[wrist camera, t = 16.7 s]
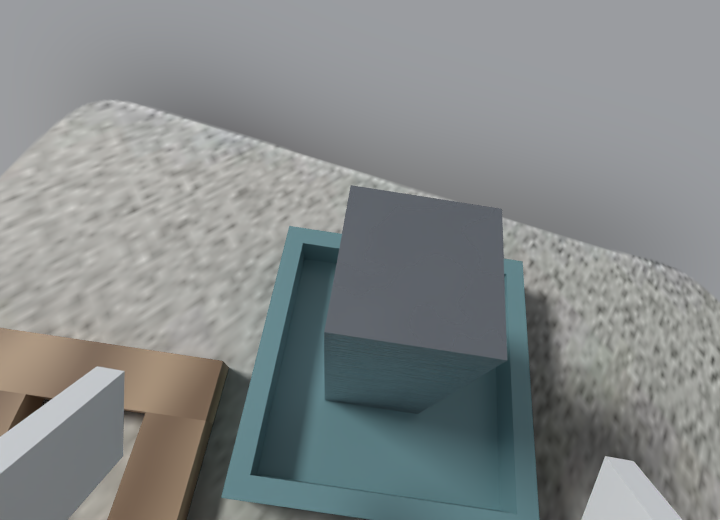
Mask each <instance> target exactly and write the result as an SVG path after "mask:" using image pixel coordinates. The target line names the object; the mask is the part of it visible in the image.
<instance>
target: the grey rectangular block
mask: <svg viewBox="0 0 720 520" xmlns="http://www.w3.org/2000/svg"><path fill="white" fill-rule="evenodd" d="M505 361H507V336H506V309H505V281H504V254H503V227H502V209H499V208H492V207H486V206H479V205H473V204H467V203H460V202H454V201H448V200H441V199H435V198H428V197H422V196H416V195H409V194H403V193H396V192H390V191H384V190H377V189H371V188H364V187H358V186H352V185H351V187H350V193H349V198H348V204H347V209H346V215H345V220H344V226H343V231H342V237H341V242H340V248H339V253H338V259H337V264H336V270H335V275H334V281H333V286H332V292H331V297H330V303H329V308H328V314H327V319H326V325H325V330H324V378H325V400H328V401H335V402H341V403H348V404H354V405H361V406H367V407H374V408H380V409H387V410H393V411H400V412H406V413H413V414H419V413H420V412H422V411H424V410H425V409H427V408H429V407H430V406H432V405H434V404H435V403H437V402H439V401H440V400H442V399H444V398H445V397H447V396H449V395H450V394H452V393H454V392H455V391H457V390H459V389H460V388H462V387H464V386H465V385H467V384H469V383H470V382H472V381H474V380H475V379H477V378H479V377H480V376H482V375H484V374H485V373H487V372H489V371H490V370H492V369H494V368H495V367H497V366H499V365H500V364H502V363H504V362H505Z"/></svg>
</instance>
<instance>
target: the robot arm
mask: <svg viewBox="0 0 720 520" xmlns="http://www.w3.org/2000/svg"><path fill="white" fill-rule="evenodd" d="M124 376H125V371H121V370H115V369H110V368H104V367H98V366H97V367H95V368H94V369H92V370H91V371H90V372H88V373H87V374H86V375H84V376H83V377H81V378H80V379H79V380H77V381H76V382H75V383H73V384H72V385H71V386H69V387H68V388H66V389H65V390H64V391H62V392H61V393H60V394H58V395H57V396H55V397H54V398H53V399H51V400H50V401H49V402H47V403H46V404H44V405H43V406H42V407H40V408H39V409H38V410H36V411H35V412H33V413H32V414H31V415H29V416H28V417H27V418H25V419H24V420H23V421H21V422H20V423H18V424H17V425H16V426H14V427H13V428H12V429H10V430H9V431H7V432H6V433H5V434H3V435H2V436H1V437H0V520H68V519H69V517H70V516H71V515H72V514H73V513H74V512H75V511H76V509H77V508H78V507H79V506H80V505H81V504H82V502H83V501H84V500H85V499H86V498H87V497H88V496H89V494H90V493H91V492H92V491H93V490H94V489H95V488H96V486H97V485H98V484H99V483H100V482H101V481H102V480H103V478H104V477H105V476H106V475H107V474H108V473H109V471H110V470H111V469H112V468H113V467H114V466H115V465H116V463H117V462H118V461H119V460H120V459H121V458H122V457H123V429H124ZM581 520H682V519H681V518H680V516H679V515H678V514H677V513H676V512H675V510H674V509H673V508H672V507H671V506H670V504H669V503H668V502H667V501H666V499H665V498H664V497H663V496H662V495H661V493H660V492H659V491H658V490H657V489H656V487H655V486H654V485H653V484H652V483H651V481H650V480H649V479H648V478H647V477H646V475H645V474H644V473H643V472H642V471H641V469H640V468H639V467H638V466H637V465H636V463H635V462H634V461H630V460H624V459H618V458H613V457H607V456H605V458H604V461H603V464H602V466H601V469H600V472H599V474H598V477H597V479H596V482H595V485H594V487H593V490H592V493H591V495H590V498H589V501H588V503H587V506H586V509H585V511H584V514H583V517H582V519H581Z"/></svg>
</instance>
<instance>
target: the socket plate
mask: <svg viewBox="0 0 720 520" xmlns="http://www.w3.org/2000/svg"><path fill="white" fill-rule="evenodd" d="M97 366H98V367H104V368H110V369H115V370H121V371H125V376H124V411H130V412H137V413H143V414H145V416H144V419H143V421H142V424H141V427H140V430H139V433H138V435H137V438H136V441H135V444H134V447H133V449H132V452H131V455H130V458H129V460H128V463H127V466H126V469H125V472H124V474H123V477H122V480H121V483H120V486H119V488H118V491H117V494H116V497H115V500H114V502H113V505H112V508H111V511H110V514H109V516H108V519H107V520H186V518H187V515H188V511H189V508H190V504H191V501H192V497H193V493H194V490H195V486H196V483H197V479H198V476H199V472H200V468H201V465H202V461H203V458H204V454H205V451H206V447H207V444H208V440H209V436H210V433H211V429H212V426H213V422H214V419H215V415H216V411H217V408H218V404H219V401H220V397H221V394H222V390H223V386H224V383H225V379H226V376H227V372H228V369H229V367H228V366H227V365H226V364H225V363H224V362H223V361H219V360H212V359H206V358H199V357H192V356H186V355H179V354H172V353H166V352H159V351H152V350H145V349H139V348H132V347H125V346H119V345H112V344H105V343H99V342H92V341H85V340H78V339H72V338H65V337H58V336H52V335H45V334H38V333H32V332H25V331H18V330H11V329H5V328H0V437H1V436H2V435H3V434H5V433H6V432H7V431H9V430H10V429H12V428H13V427H14V426H16V425H17V424H18V423H20V422H21V421H23V420H24V419H25V418H27V417H28V416H29V415H31V414H32V413H33V412H35V411H36V410H38V409H39V408H40V407H41V405H42V403H43V401H44V399H49V400H51V399H53V398H54V397H55V396H57V395H58V394H60V393H61V392H62V391H64V390H65V389H66V388H68V387H69V386H71V385H72V384H73V383H75V382H76V381H77V380H79V379H80V378H81V377H83V376H84V375H86V374H87V373H88V372H90V371H91V370H92V369H94V368H95V367H97Z"/></svg>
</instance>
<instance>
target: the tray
mask: <svg viewBox="0 0 720 520" xmlns="http://www.w3.org/2000/svg"><path fill="white" fill-rule="evenodd" d="M341 237H342V234H339V233H332V232H325V231H319V230H312V229H306V228H299V227H292V226H289V230H288V234H287V238H286V242H285V246H284V250H283V254H282V258H281V262H280V266H279V270H278V274H277V278H276V282H275V286H274V289H273V293H272V297H271V301H270V305H269V309H268V313H267V317H266V321H265V325H264V329H263V333H262V337H261V341H260V345H259V349H258V353H257V357H256V361H255V365H254V369H253V373H252V377H251V381H250V385H249V389H248V393H247V397H246V401H245V405H244V409H243V413H242V417H241V421H240V425H239V429H238V433H237V437H236V441H235V445H234V449H233V453H232V457H231V461H230V465H229V469H228V472H227V476H226V480H225V484H224V488H223V492H222V496H221V498H227V499H234V500H240V501H247V502H254V503H261V504H268V505H274V506H281V507H288V508H295V509H302V510H309V511H315V512H322V513H329V514H336V515H343V516H349V517H356V518H363V519H370V520H539V506H538V491H537V475H536V460H535V445H534V430H533V415H532V399H531V384H530V369H529V354H528V338H527V323H526V308H525V293H524V278H523V262H522V261H516V260H510V259H504V281H505V309H506V336H507V361H505V362H504V363H502V364H500V365H499V366H497V367H495V368H494V369H492V370H490V371H489V372H487V373H485V374H484V375H482V376H480V377H479V378H477V379H475V380H474V381H472V382H470V383H469V384H467V385H465V386H464V387H462V388H460V389H459V390H457V391H455V392H454V393H452V394H450V395H449V396H447V397H445V398H444V399H442V400H440V401H439V402H437V403H435V404H434V405H432V406H430V407H429V408H427V409H425V410H424V411H422V412H420V413H419V414H413V413H406V412H400V411H393V410H387V409H380V408H374V407H367V406H361V405H354V404H348V403H341V402H335V401H328V400H325V378H324V330H325V325H326V319H327V314H328V308H329V303H330V297H331V292H332V286H333V281H334V275H335V270H336V264H337V259H338V253H339V248H340V242H341Z"/></svg>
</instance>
